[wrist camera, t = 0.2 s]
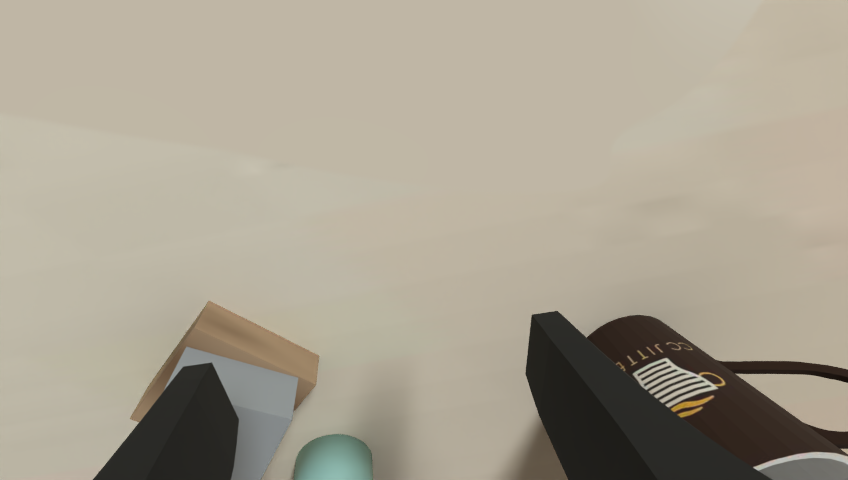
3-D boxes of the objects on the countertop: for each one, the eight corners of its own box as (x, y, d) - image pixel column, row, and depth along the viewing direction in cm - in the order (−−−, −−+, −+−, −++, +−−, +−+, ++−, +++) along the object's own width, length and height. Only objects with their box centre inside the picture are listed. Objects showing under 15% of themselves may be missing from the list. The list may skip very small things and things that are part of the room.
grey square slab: (261, 451, 22) (251, 497, 20) (154, 427, 21) (131, 475, 19) (298, 377, 21) (292, 419, 19) (186, 346, 19) (164, 388, 17)
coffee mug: (544, 423, 27) (637, 612, 19) (561, 304, 24) (687, 469, 15) (716, 401, 29) (879, 568, 20) (757, 287, 25) (979, 427, 16)
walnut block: (258, 424, 25) (249, 463, 23) (151, 380, 23) (129, 418, 20) (319, 350, 23) (316, 384, 21) (211, 296, 21) (194, 327, 19)
